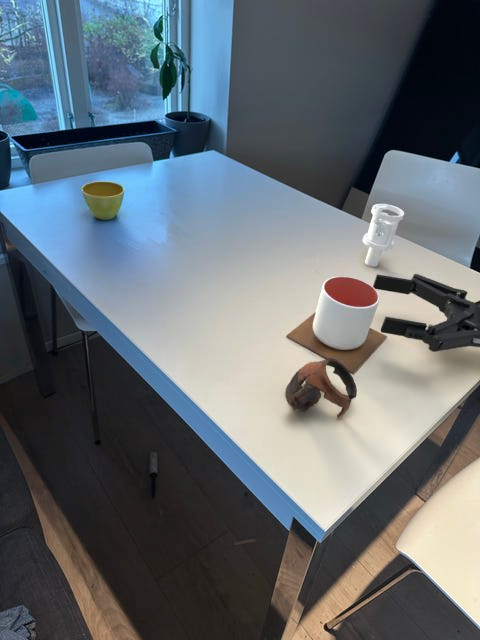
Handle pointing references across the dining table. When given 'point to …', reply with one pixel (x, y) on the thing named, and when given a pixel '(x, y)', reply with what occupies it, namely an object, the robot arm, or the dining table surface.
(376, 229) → the white openwork cylinder
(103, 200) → the flower pot
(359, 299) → the cup
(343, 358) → the coaster
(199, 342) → the dining table surface
